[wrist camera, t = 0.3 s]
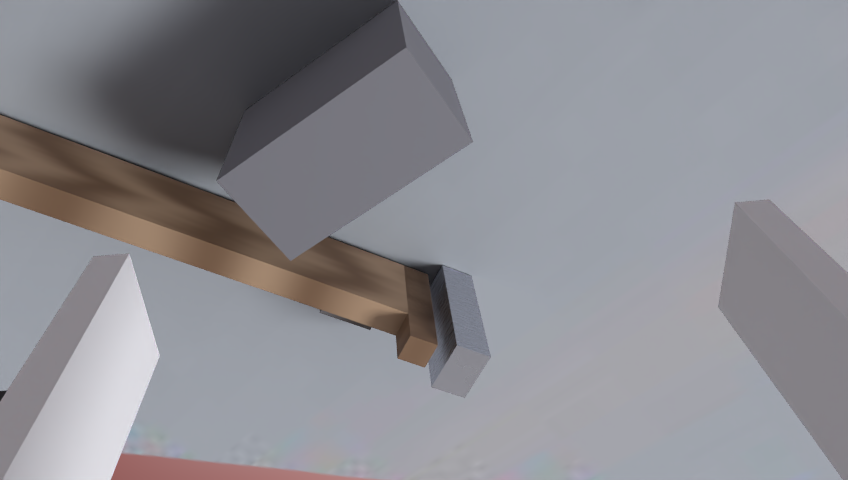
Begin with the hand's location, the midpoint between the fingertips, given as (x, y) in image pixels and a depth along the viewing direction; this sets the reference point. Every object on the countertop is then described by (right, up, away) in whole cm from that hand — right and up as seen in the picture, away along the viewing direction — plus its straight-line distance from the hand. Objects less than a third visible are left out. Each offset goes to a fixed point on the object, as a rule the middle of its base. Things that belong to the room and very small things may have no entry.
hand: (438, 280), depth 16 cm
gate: (-13, +3, +25) cm, 29 cm away
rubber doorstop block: (-4, +9, +23) cm, 25 cm away
